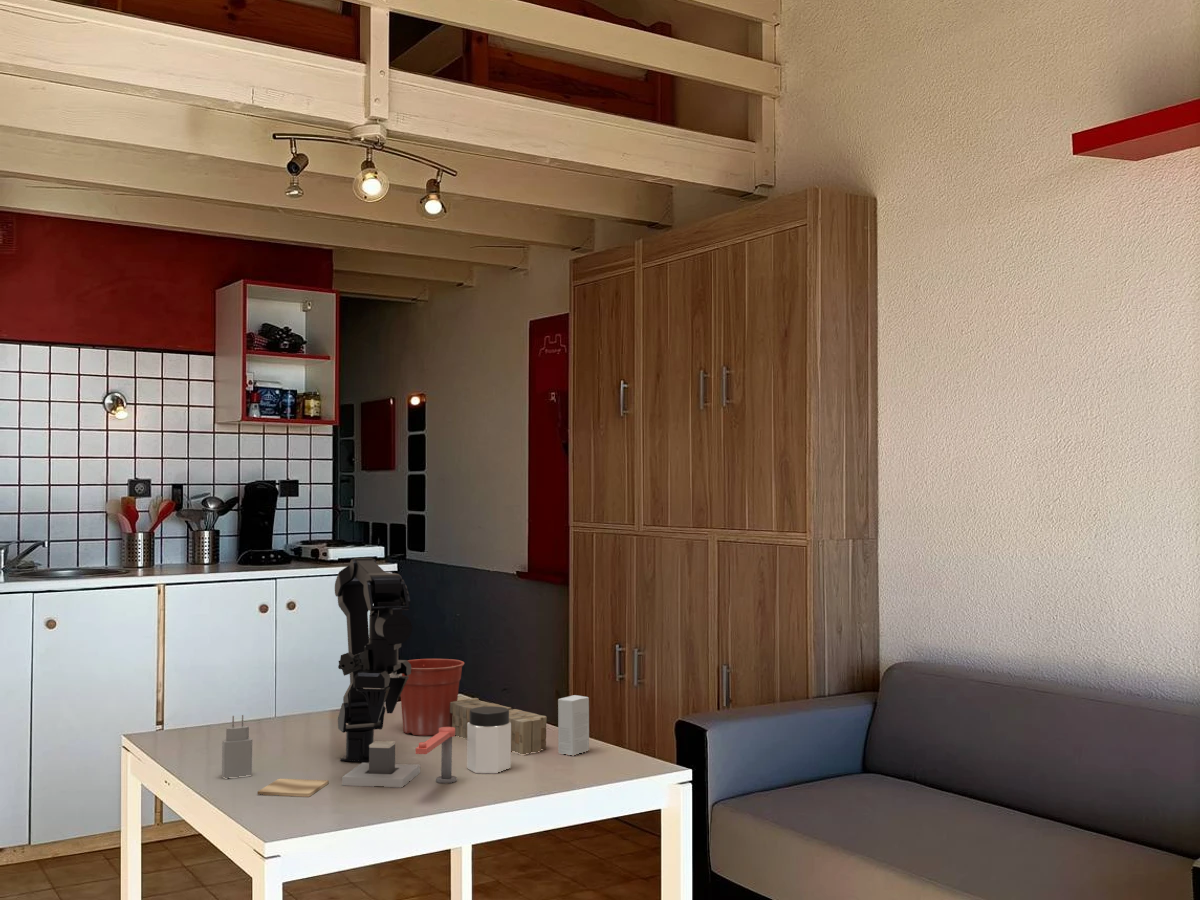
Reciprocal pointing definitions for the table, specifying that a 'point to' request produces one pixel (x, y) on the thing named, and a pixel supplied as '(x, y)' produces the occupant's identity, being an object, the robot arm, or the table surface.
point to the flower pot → (430, 695)
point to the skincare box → (573, 725)
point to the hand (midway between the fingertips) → (382, 717)
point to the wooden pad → (293, 787)
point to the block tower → (524, 725)
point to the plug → (382, 757)
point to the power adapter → (237, 751)
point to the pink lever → (435, 740)
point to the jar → (488, 740)
